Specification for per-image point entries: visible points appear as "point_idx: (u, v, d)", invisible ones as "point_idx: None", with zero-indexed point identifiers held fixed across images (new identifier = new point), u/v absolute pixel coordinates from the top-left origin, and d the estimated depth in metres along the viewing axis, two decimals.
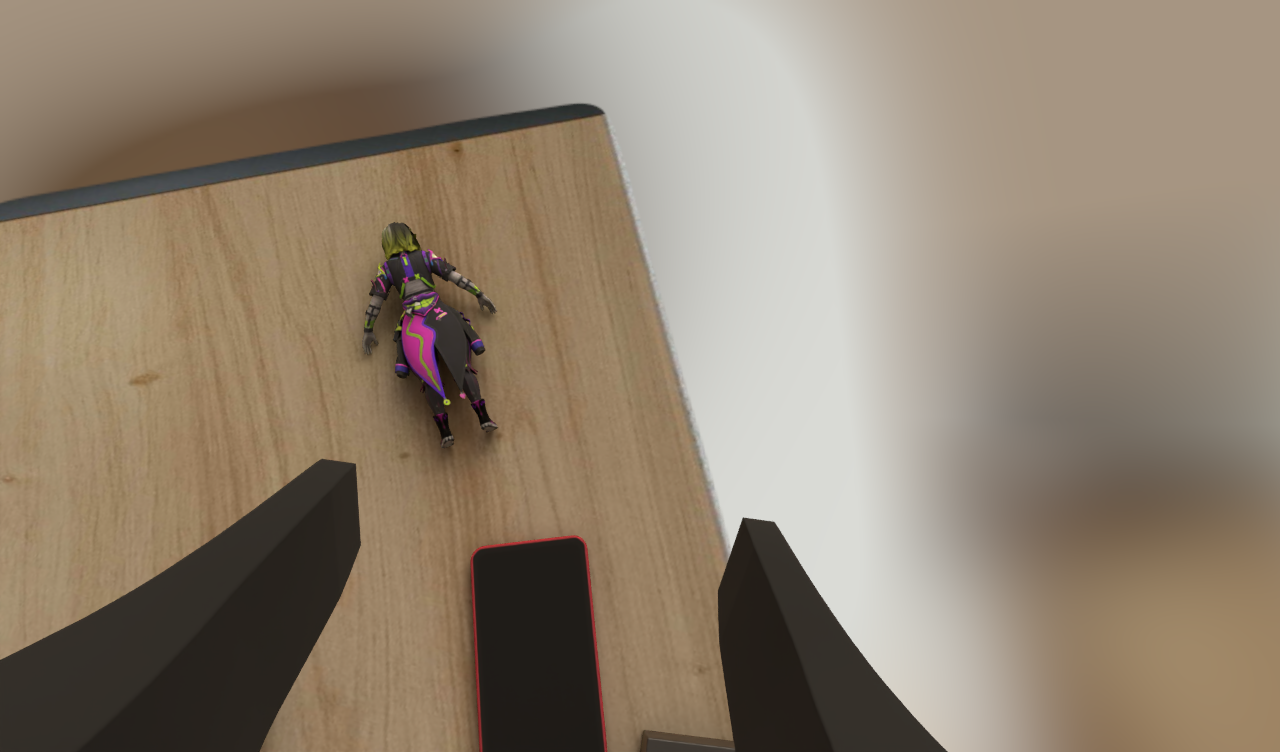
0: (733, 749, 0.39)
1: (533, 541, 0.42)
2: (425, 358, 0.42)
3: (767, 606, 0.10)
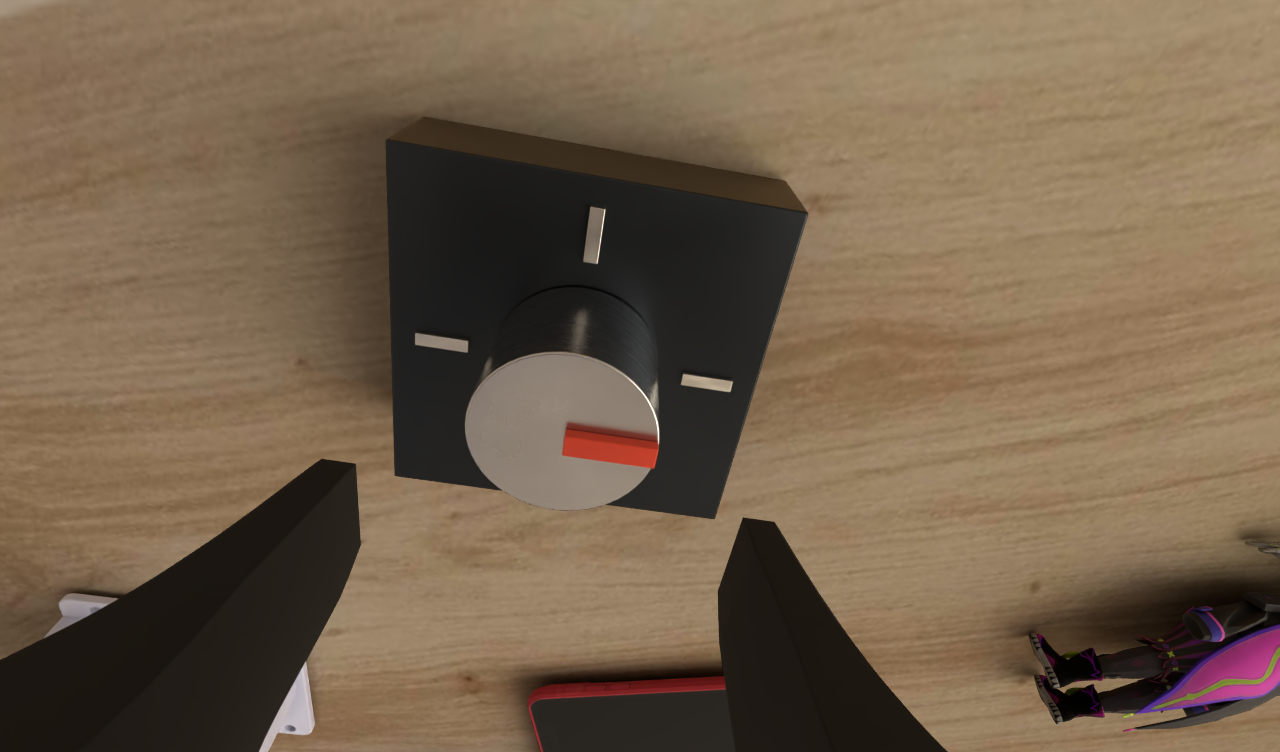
0: None
1: None
2: (1222, 688, 0.24)
3: (767, 606, 0.10)
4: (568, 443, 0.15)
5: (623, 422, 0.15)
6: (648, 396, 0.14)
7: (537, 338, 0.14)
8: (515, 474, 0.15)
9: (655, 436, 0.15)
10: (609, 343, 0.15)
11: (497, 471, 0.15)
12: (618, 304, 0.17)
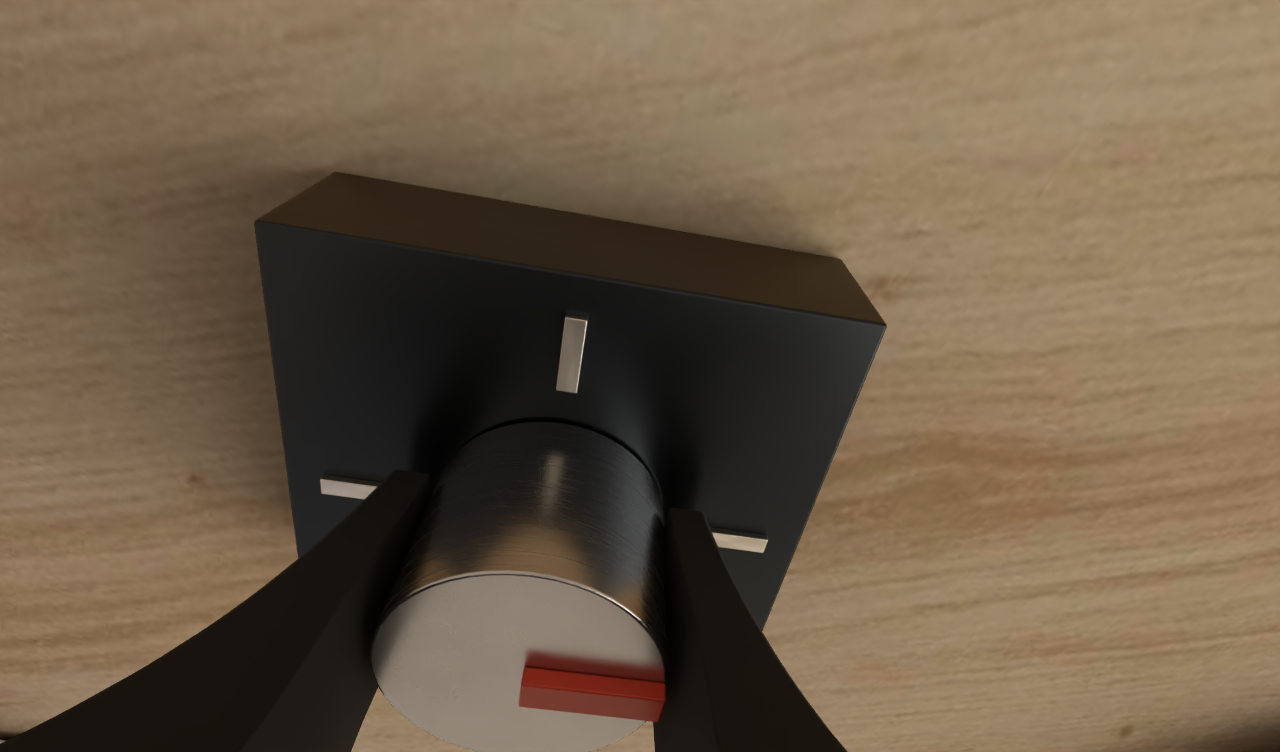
0: None
1: None
2: None
3: (681, 595, 0.10)
4: (527, 693, 0.09)
5: (612, 659, 0.10)
6: (650, 624, 0.09)
7: (479, 537, 0.09)
8: (451, 718, 0.10)
9: (661, 676, 0.10)
10: (591, 535, 0.10)
11: (424, 714, 0.10)
12: (607, 448, 0.12)
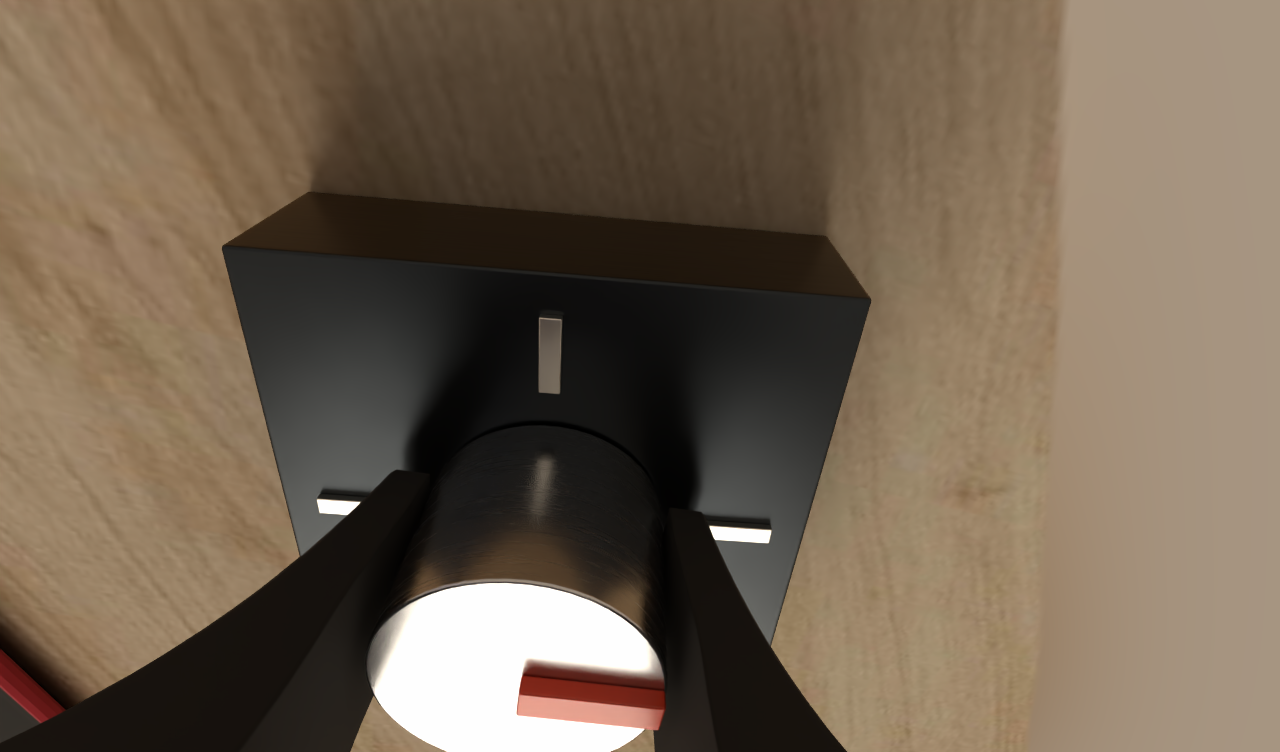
0: None
1: None
2: None
3: (681, 595, 0.10)
4: (525, 701, 0.09)
5: (611, 667, 0.09)
6: (650, 632, 0.09)
7: (475, 544, 0.09)
8: (449, 727, 0.10)
9: (661, 683, 0.10)
10: (589, 542, 0.09)
11: (421, 723, 0.10)
12: (605, 451, 0.11)
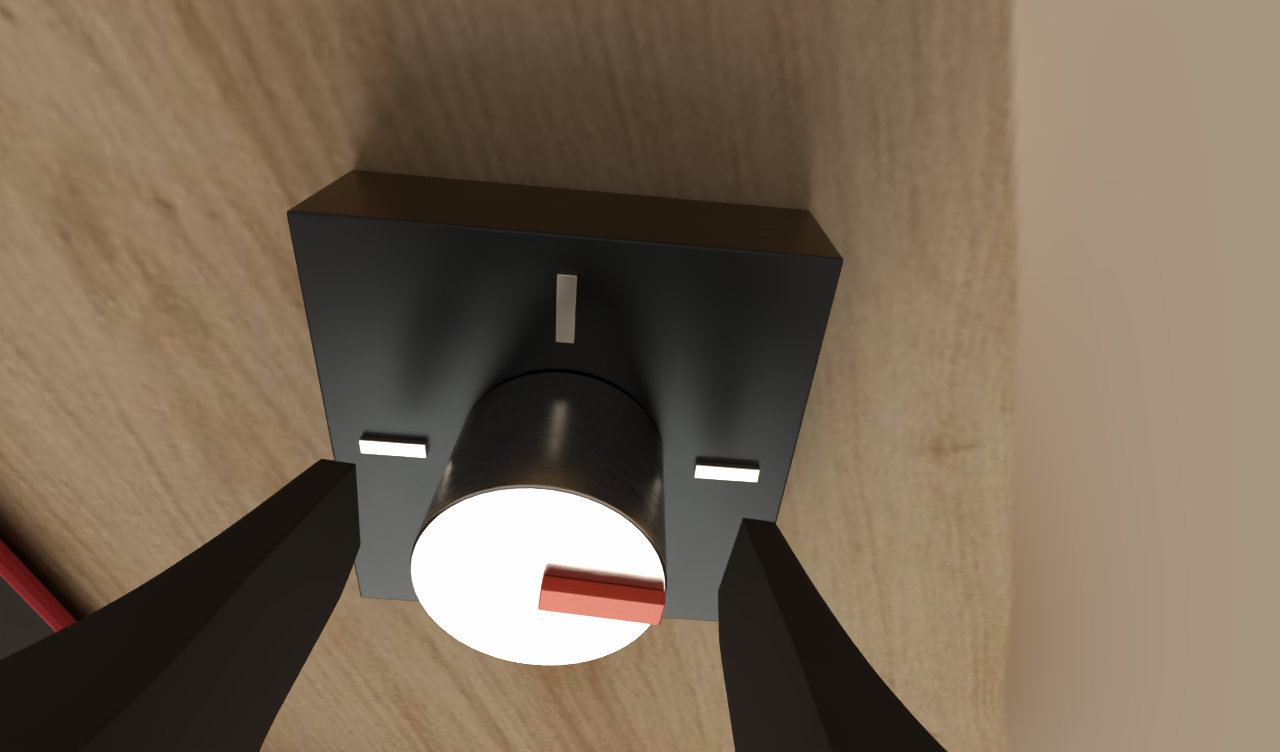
0: None
1: None
2: None
3: (767, 606, 0.10)
4: (546, 596, 0.11)
5: (619, 569, 0.11)
6: (652, 536, 0.11)
7: (506, 460, 0.11)
8: (478, 625, 0.12)
9: (661, 584, 0.11)
10: (601, 461, 0.11)
11: (454, 622, 0.12)
12: (614, 395, 0.13)
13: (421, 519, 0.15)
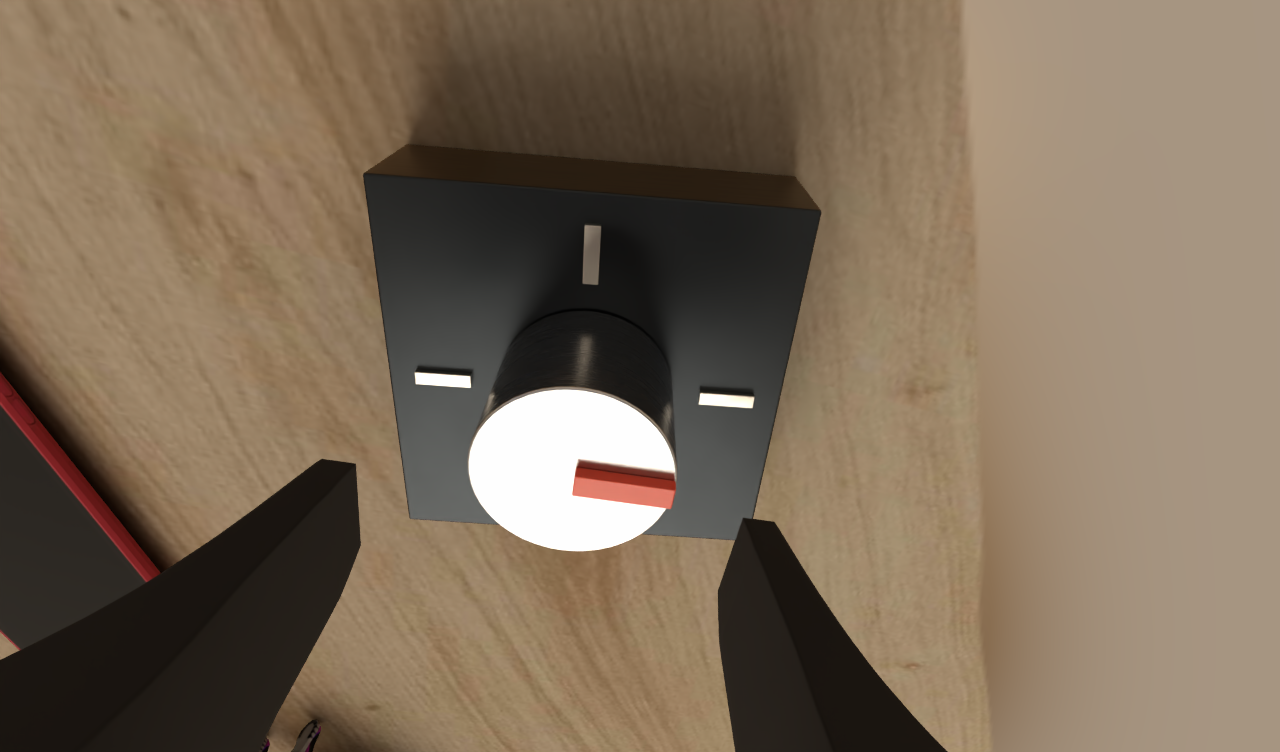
0: None
1: None
2: None
3: (767, 606, 0.10)
4: (579, 483, 0.14)
5: (638, 460, 0.14)
6: (665, 433, 0.13)
7: (546, 371, 0.13)
8: (521, 514, 0.14)
9: (672, 475, 0.14)
10: (623, 374, 0.14)
11: (502, 511, 0.14)
12: (631, 329, 0.16)
13: (464, 445, 0.18)
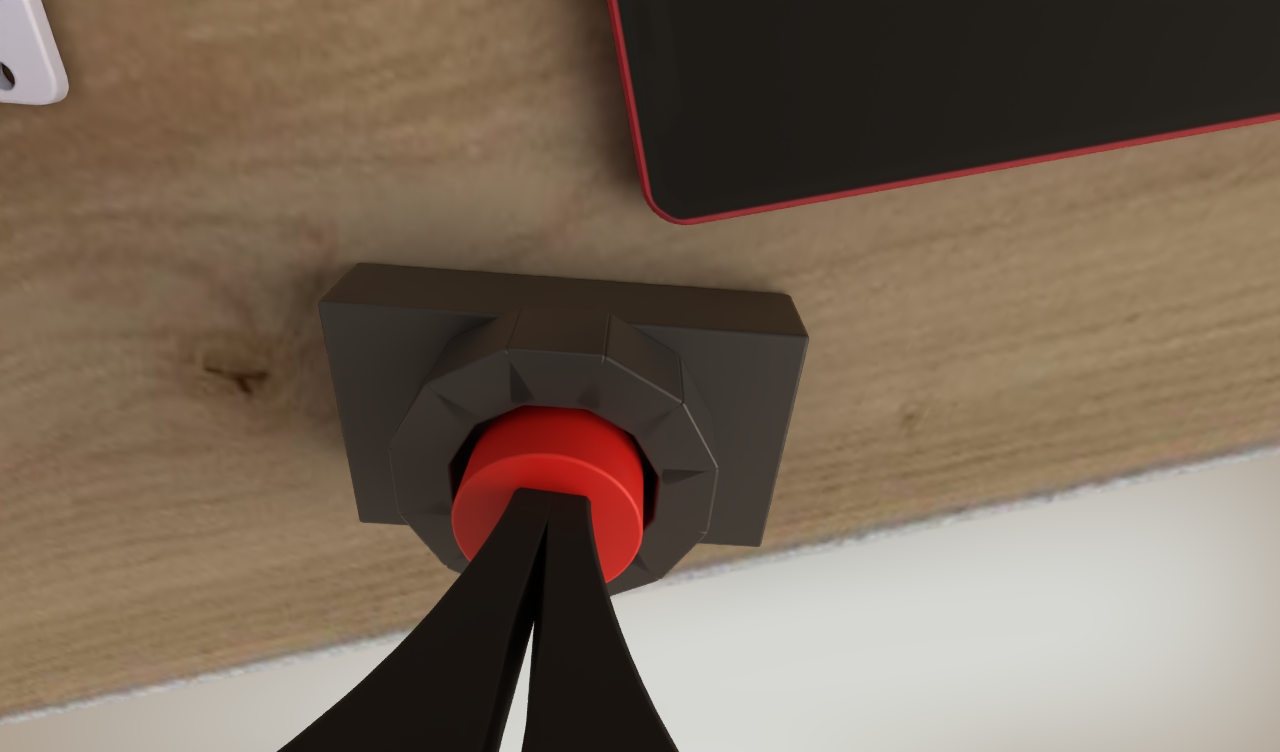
0: (764, 523, 0.16)
1: None
2: None
3: (543, 577, 0.10)
4: None
5: None
6: None
7: None
8: None
9: None
10: None
11: None
12: None
13: None
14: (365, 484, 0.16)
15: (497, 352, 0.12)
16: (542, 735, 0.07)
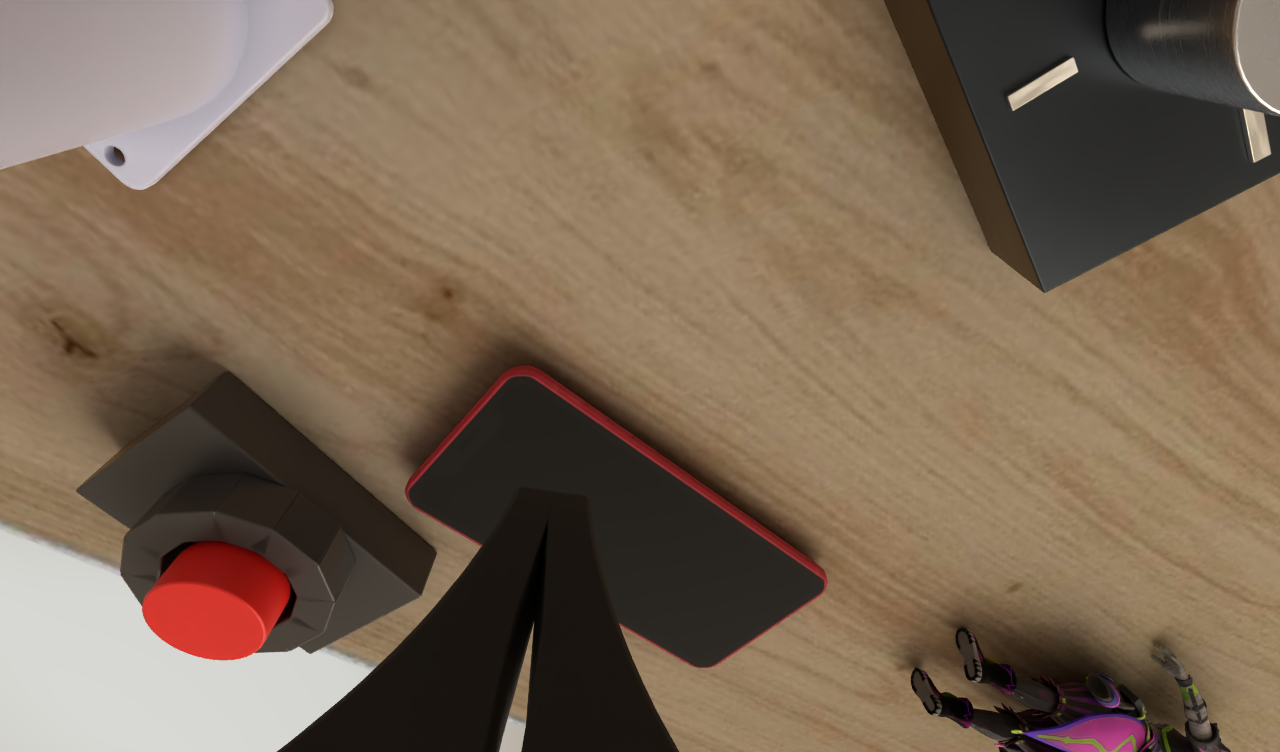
0: (323, 646, 0.25)
1: (760, 635, 0.27)
2: (1086, 745, 0.26)
3: (543, 577, 0.10)
4: None
5: None
6: None
7: None
8: None
9: None
10: None
11: None
12: None
13: (1084, 157, 0.15)
14: (105, 481, 0.21)
15: (267, 528, 0.20)
16: (542, 735, 0.07)
